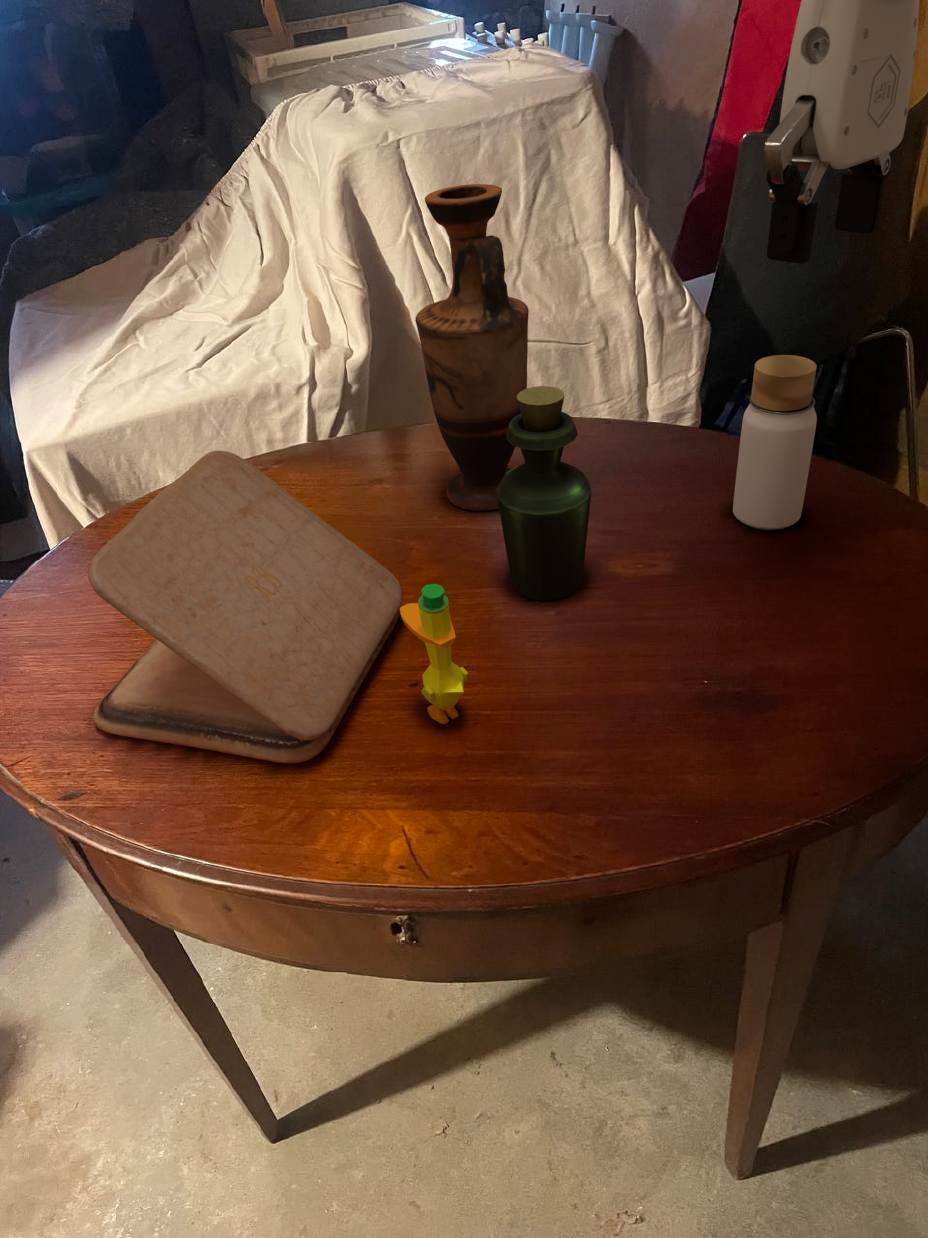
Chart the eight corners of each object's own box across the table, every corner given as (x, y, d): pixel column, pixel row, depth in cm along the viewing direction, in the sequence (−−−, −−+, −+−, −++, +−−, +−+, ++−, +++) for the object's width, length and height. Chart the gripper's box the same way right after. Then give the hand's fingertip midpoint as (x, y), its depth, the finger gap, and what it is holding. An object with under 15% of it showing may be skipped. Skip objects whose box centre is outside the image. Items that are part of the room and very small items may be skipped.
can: (720, 506, 89) (732, 393, 82) (778, 494, 90) (795, 381, 82) (752, 537, 84) (767, 420, 76) (814, 524, 84) (834, 407, 77)
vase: (420, 486, 98) (383, 193, 80) (507, 460, 101) (490, 173, 83) (461, 528, 90) (430, 212, 72) (554, 499, 93) (546, 190, 75)
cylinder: (812, 389, 81) (818, 355, 79) (809, 413, 77) (815, 377, 75) (753, 386, 82) (757, 353, 80) (748, 409, 78) (752, 374, 77)
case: (321, 777, 63) (274, 595, 53) (79, 734, 69) (-2, 563, 59) (416, 612, 78) (392, 448, 69) (212, 588, 84) (164, 434, 75)
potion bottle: (603, 597, 78) (606, 406, 67) (515, 615, 77) (503, 423, 66) (575, 551, 84) (573, 369, 74) (493, 566, 83) (479, 385, 73)
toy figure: (399, 701, 69) (377, 574, 62) (435, 681, 71) (418, 555, 63) (449, 746, 64) (433, 615, 57) (487, 724, 66) (475, 593, 59)
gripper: (850, -29, 50) (807, 280, 60) (980, -47, 59) (924, 225, 69) (735, -19, 55) (713, 266, 65) (872, -37, 64) (834, 216, 74)
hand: (822, 244), depth 67 cm, fingers open, 9 cm apart
